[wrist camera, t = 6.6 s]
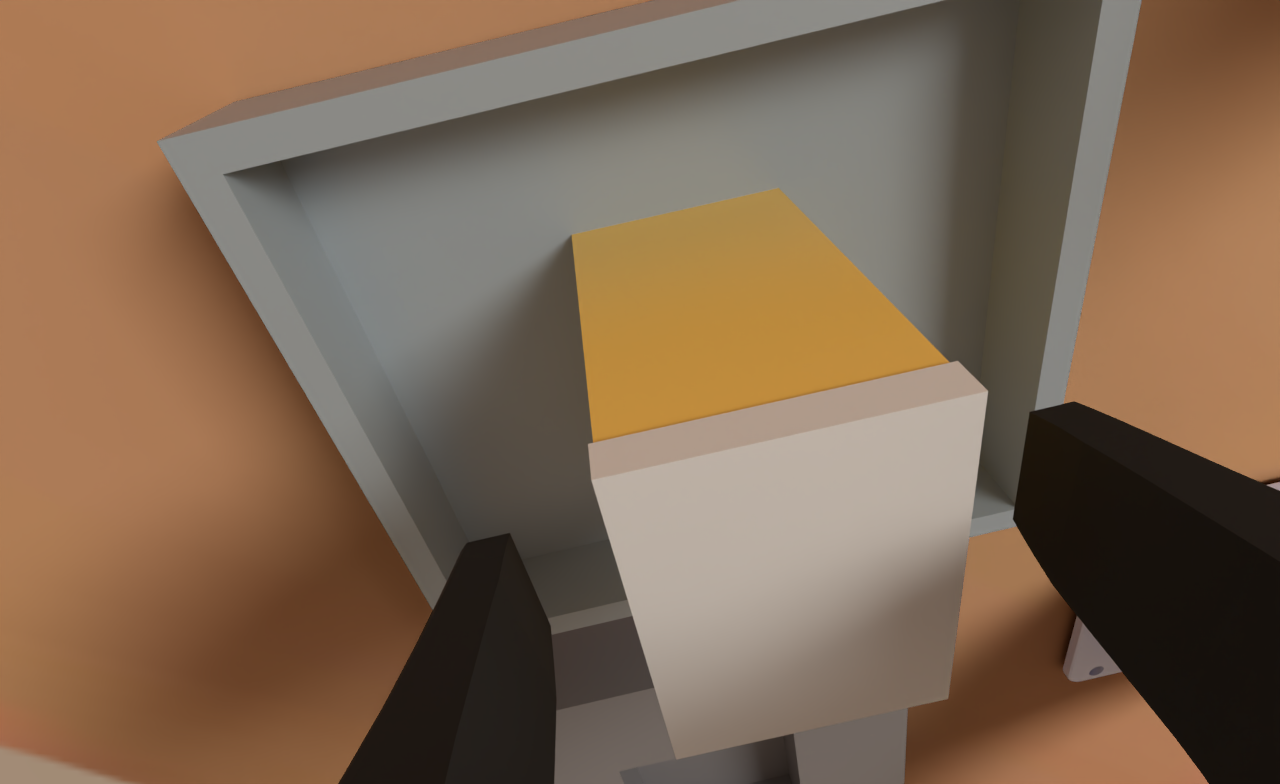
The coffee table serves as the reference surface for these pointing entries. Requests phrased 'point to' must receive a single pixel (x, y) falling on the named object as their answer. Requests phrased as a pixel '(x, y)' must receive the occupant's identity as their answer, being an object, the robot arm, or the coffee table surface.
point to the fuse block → (640, 744)
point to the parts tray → (640, 188)
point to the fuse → (773, 471)
